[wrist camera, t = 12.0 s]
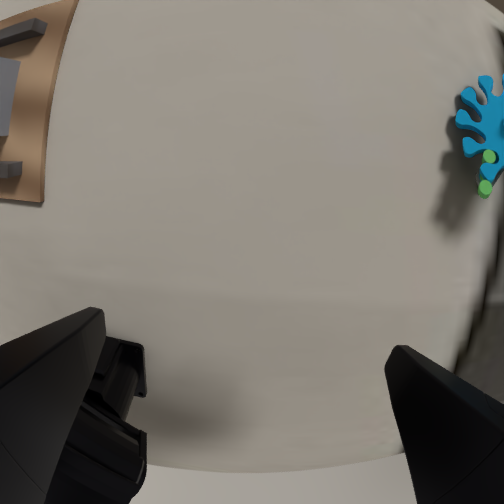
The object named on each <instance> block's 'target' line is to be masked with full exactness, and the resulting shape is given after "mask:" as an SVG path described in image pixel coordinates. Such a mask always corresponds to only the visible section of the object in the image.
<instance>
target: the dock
mask: <svg viewBox="0 0 504 504" xmlns="http://www.w3.org/2000/svg"><path fill="white" fill-rule="evenodd" d="M78 1H79V0H62V1H58V2H55V3H51V4H48V5H44V6H41V7H38V8H34V9H31V10H28V11H26V12H23V13H20V14H17V15H14V16H12V17H9V18H7V19H4V20H2V21H0V57H3V58H8V59H12V60H17V61H21V64H20V68H19V72H18V77H17V82H16V87H15V92H14V98H13V104H12V111H11V118H10V126H9V135H7V136H0V198H6V199H15V200H24V201H33V202H42V201H44V178H45V158H46V145H47V135H48V126H49V118H50V111H51V105H52V98H53V93H54V87H55V82H56V77H57V73H58V68H59V64H60V60H61V56H62V52H63V48H64V44H65V41H66V37H67V34H68V31H69V27H70V24H71V21H72V18H73V15H74V12H75V9H76V7H77V4H78Z"/></svg>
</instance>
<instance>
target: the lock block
mask: <svg viewBox="0 0 504 504" xmlns="http://www.w3.org/2000/svg"><path fill="white" fill-rule="evenodd" d="M20 64H21V61H17V60H12V59H8V58H3V57H0V136H7V135H9V126H10V118H11V111H12V104H13V98H14V92H15V87H16V82H17V77H18V72H19V68H20Z"/></svg>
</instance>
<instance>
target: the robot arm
mask: <svg viewBox="0 0 504 504" xmlns="http://www.w3.org/2000/svg"><path fill="white" fill-rule="evenodd" d="M137 349H139V350H137ZM384 370H385V376H386V380H387V385H388V390H389V395H390V400H391V404H392V409H393V412H394V416H395V419H396V423H397V426H398V429H399V433H400V436H401V440H402V444H403V447H404V451H405V455H406V459H407V462H408V466H409V470H410V474H411V479H412V482H413V487H414V491H415V495H416V501H417V504H504V404H502V403H500V402H499V401H497V400H495V399H494V398H492V397H490V396H489V395H487V394H485V393H483V392H482V391H481V390H479V389H477V388H476V387H474V386H472V385H471V384H469V383H468V382H466V381H464V380H463V379H461V378H459V377H458V376H456V375H455V374H453V373H451V372H450V371H448V370H446V369H445V368H443V367H442V366H440V365H438V364H437V363H435V362H433V361H432V360H430V359H429V358H427V357H425V356H424V355H422V354H420V353H419V352H417V351H416V350H414V349H412V348H411V347H409V346H407V345H396V346H395V347H394V348H393V350H392V352H391V354H390V356H389V358H388V360H387V362H386V364H385V368H384ZM146 394H147V387H146V374H145V357H144V347H143V346H142V345H141V344H139V343H134V342H130V341H125V340H121V339H116V338H112V337H108V336H106V327H105V317H104V312H103V310H102V309H99V308H95V307H88V308H86V309H84V310H81V311H79V312H76V313H74V314H72V315H69V316H67V317H65V318H62V319H60V320H58V321H55V322H53V323H51V324H49V325H46V326H44V327H42V328H39V329H37V330H35V331H32V332H30V333H28V334H25V335H23V336H21V337H19V338H16V339H14V340H12V341H9V342H7V343H5V344H3V345H1V346H0V504H129V503H130V501H131V499H132V498H133V497H134V496H135V495H136V494H137V493H138V492H139V490H140V488H141V487H142V485H143V482H144V480H145V477H146V471H147V433H145V432H144V431H142V430H138V429H137V428H135V427H133V426H132V425H130V424H128V423H127V422H125V419H126V416H127V413H128V411H129V408H130V405H131V402H132V399H133V396H137V397H142V398H144V397H146Z"/></svg>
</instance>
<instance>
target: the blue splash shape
mask: <svg viewBox="0 0 504 504" xmlns="http://www.w3.org/2000/svg"><path fill="white" fill-rule="evenodd" d="M478 84H479V87H480V88H481V89H482V91H483V92H484V93H485V95H486V98H487V105H480V104H479V103H478V102H477V100H476V93H475V91H474V90H473V89H472V88H471V87H468V88H466V89H464V90H463V91H462V92H461V100H462V101H463V103H465V104H466V105H468V106H470V107H472V108H473V109H474V110H475V111H476V112H477V114H478V115H479V117H480V119H481V122H478V123H477V122H474V121H473V120H472V119H471V118H470V116H469V114H468V113H467V112H466V111H465V110H462V109H459V111H458V112H457V115H456V120H455V122H456V126H457V127H458V128H460V129H469V130H473V131H475V132H476V133H478V134H479V135H481V136H482V137H483V138H484V140H485V143H483V144H479V143H477V142H476V141H475V140H473V139H472V138H470V137H465V138H463V151H464V155H465V157H468V158H471V157H473V156H475V155H476V154H479V153H483V157H482V165H481V167H480V169H479V170H478V171H477V173H476V183H477V185H478V194H479V196H480V197H481V198H483V199H486V198H488V197H489V195H490V193H491V191H492V187H493V185H494V184H495V183H496V181H497V180H498V178H499V177H500V175H501V174H502V172H503V170H504V91H503V93H502V95H501V96H499V97H497V96H494V95H493V94H492V93H491V91H492V89H493V79H492V78H491V76H479V77H478ZM502 85H503V88H504V74H503V78H502Z"/></svg>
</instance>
